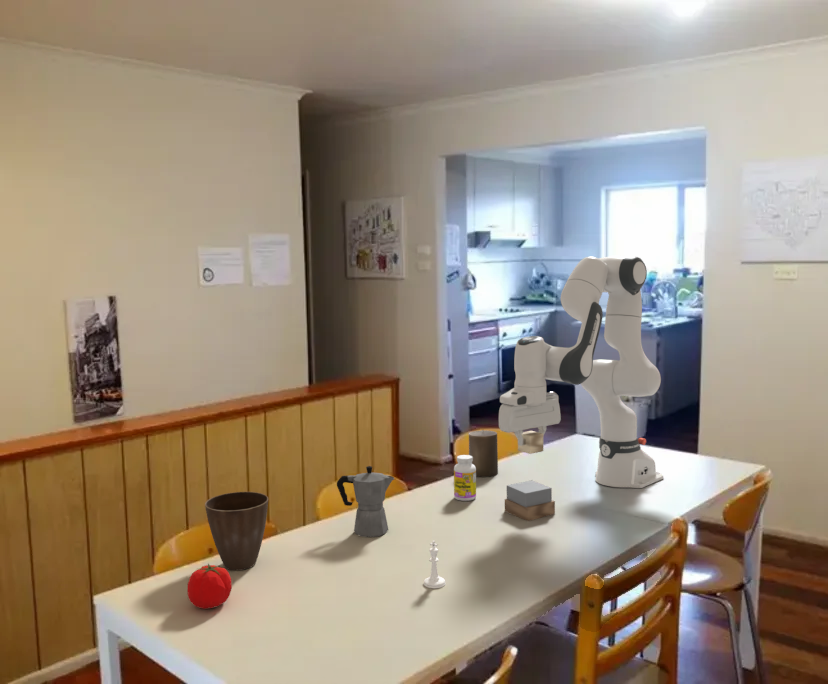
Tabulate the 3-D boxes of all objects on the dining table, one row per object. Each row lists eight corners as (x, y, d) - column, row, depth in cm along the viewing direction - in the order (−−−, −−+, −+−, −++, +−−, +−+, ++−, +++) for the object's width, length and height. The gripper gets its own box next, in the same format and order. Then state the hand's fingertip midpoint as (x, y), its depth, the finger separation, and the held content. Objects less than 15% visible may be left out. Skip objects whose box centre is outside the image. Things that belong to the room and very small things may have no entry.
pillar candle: (499, 476, 256) (498, 432, 254) (469, 477, 256) (469, 432, 255) (496, 469, 266) (496, 426, 264) (468, 469, 266) (467, 426, 264)
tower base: (531, 505, 227) (531, 492, 227) (554, 515, 219) (554, 501, 218) (504, 512, 222) (504, 499, 221) (528, 522, 213) (527, 508, 213)
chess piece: (438, 590, 171) (437, 546, 170) (419, 585, 174) (418, 542, 172) (449, 581, 175) (448, 539, 174) (430, 577, 178) (429, 535, 177)
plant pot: (204, 558, 192) (200, 496, 190) (263, 548, 198) (260, 487, 196) (213, 581, 178) (210, 514, 177) (277, 569, 184) (274, 504, 182)
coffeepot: (395, 524, 213) (393, 460, 211) (396, 536, 204) (394, 470, 202) (339, 526, 213) (337, 462, 211) (337, 539, 203) (334, 472, 201)
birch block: (531, 447, 221) (531, 430, 221) (543, 451, 217) (543, 433, 217) (518, 450, 219) (517, 433, 218) (529, 454, 214) (529, 436, 214)
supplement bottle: (451, 500, 233) (450, 458, 231) (458, 493, 239) (457, 453, 237) (472, 502, 230) (471, 460, 229) (479, 495, 236) (478, 454, 235)
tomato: (191, 618, 160) (188, 579, 160) (184, 599, 170) (182, 562, 169) (236, 609, 164) (234, 571, 163) (227, 590, 174) (225, 554, 173)
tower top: (531, 493, 226) (531, 480, 226) (551, 501, 218) (551, 487, 218) (506, 498, 222) (506, 485, 221) (525, 507, 214) (525, 493, 213)
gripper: (550, 389, 224) (550, 436, 226) (494, 397, 213) (495, 446, 215) (565, 392, 219) (565, 440, 221) (509, 400, 208) (510, 451, 210)
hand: (530, 443), depth 218 cm, fingers closed on birch block, 5 cm apart
